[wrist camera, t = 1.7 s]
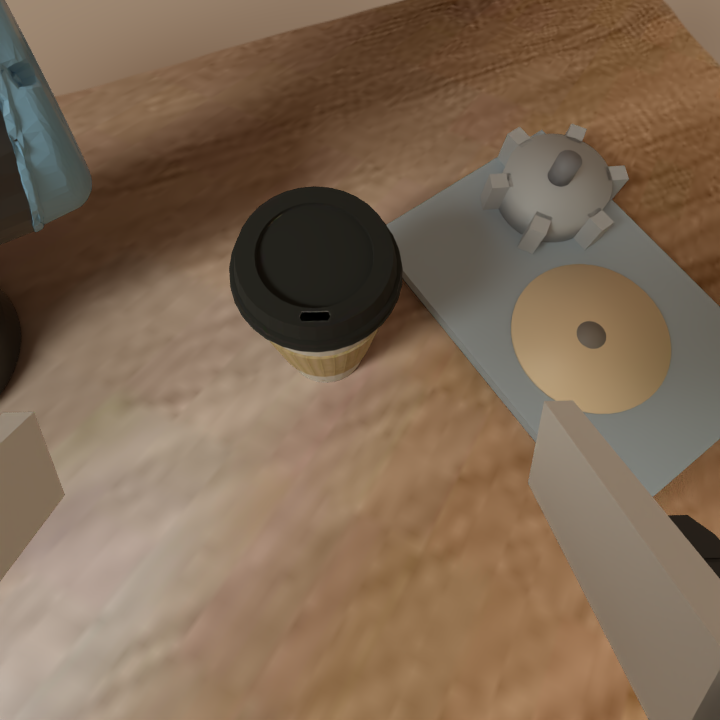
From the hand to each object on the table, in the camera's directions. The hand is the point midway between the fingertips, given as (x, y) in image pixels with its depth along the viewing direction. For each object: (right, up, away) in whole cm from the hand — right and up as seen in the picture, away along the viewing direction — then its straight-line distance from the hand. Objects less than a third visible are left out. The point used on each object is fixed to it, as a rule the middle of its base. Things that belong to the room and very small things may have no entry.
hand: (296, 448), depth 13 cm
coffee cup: (-1, +3, +27) cm, 27 cm away
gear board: (+20, +7, +28) cm, 35 cm away
